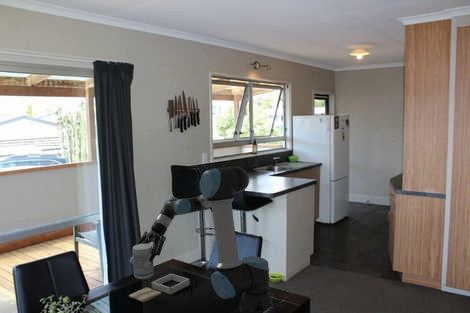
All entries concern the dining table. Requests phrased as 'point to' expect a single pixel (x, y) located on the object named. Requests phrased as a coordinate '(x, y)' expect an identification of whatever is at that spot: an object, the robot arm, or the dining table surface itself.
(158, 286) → the grey square frame
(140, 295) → the birch board
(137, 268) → the supplement tub
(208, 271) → the dining table surface
